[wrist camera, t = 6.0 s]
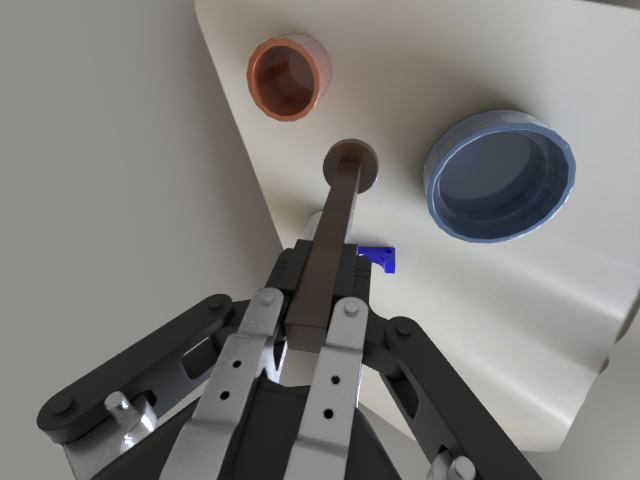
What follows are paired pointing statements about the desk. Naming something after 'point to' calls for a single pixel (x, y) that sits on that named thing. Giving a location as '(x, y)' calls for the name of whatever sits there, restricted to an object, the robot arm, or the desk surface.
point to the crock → (288, 76)
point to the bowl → (497, 176)
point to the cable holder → (380, 257)
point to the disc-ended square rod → (329, 243)
